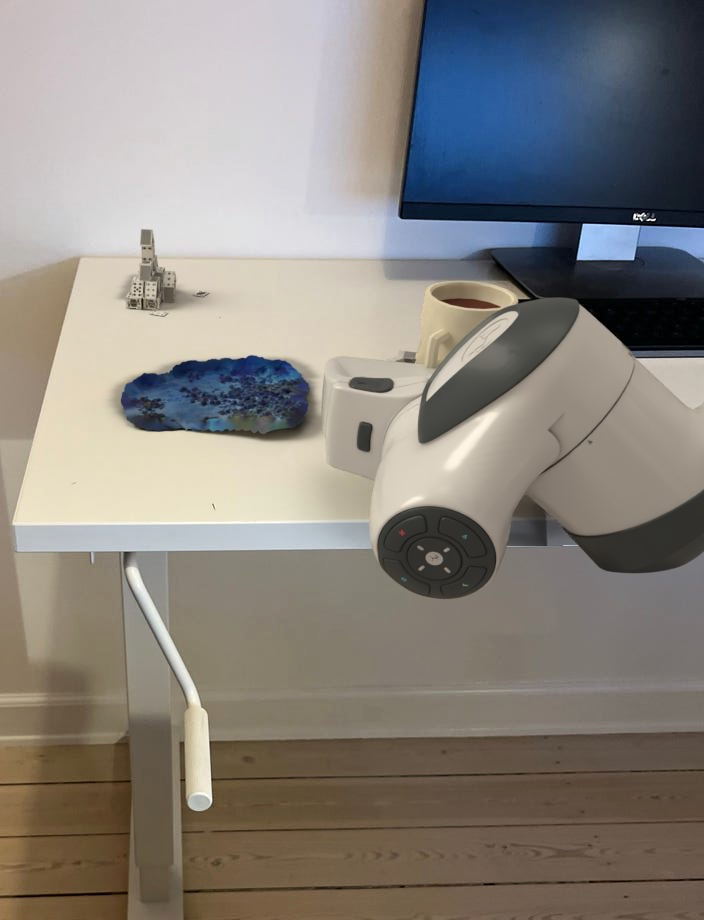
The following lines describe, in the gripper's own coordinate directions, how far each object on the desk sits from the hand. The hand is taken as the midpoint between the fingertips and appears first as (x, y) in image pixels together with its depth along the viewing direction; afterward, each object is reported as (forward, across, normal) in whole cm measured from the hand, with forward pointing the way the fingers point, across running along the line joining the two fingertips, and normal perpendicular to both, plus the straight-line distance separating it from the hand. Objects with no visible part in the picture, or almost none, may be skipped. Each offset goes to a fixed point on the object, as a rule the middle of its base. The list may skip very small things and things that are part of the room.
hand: (458, 365), depth 80 cm
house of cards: (+29, +33, +8) cm, 45 cm away
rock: (+4, +21, +8) cm, 23 cm away
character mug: (-1, 0, +7) cm, 7 cm away
